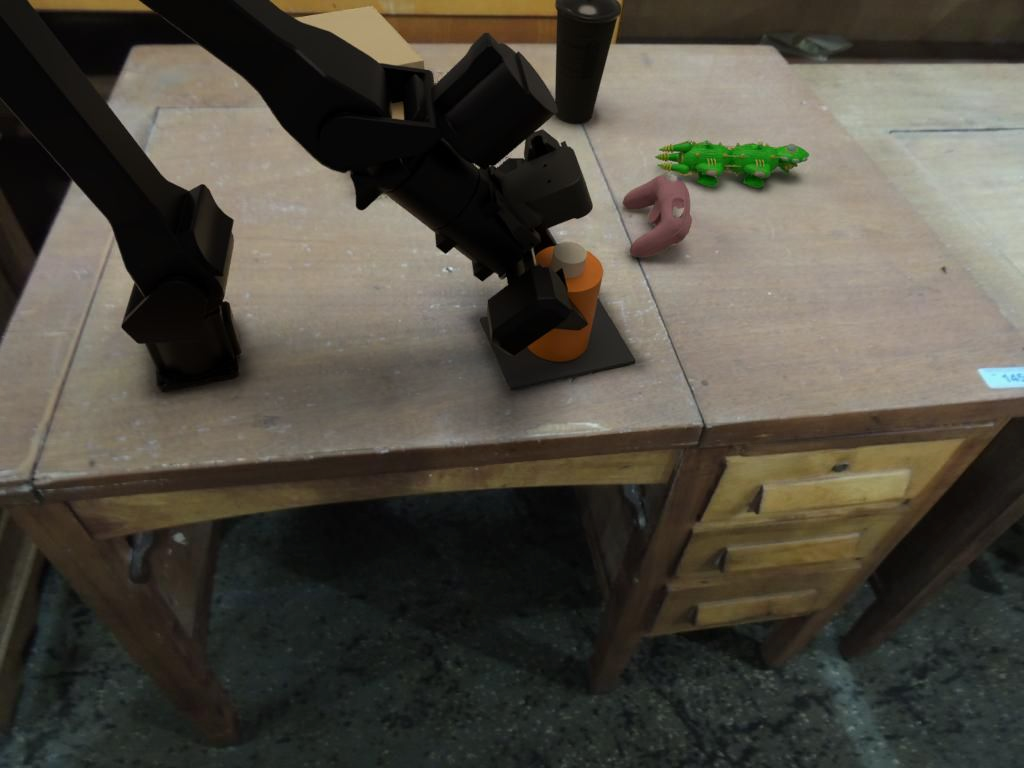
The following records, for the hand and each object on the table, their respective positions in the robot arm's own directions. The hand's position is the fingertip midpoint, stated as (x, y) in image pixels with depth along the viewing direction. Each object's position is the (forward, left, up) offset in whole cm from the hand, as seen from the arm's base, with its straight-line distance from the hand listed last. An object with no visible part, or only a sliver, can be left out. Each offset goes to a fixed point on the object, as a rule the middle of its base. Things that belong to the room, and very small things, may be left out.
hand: (577, 301), depth 65 cm
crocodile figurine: (+29, +21, -5) cm, 36 cm away
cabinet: (-11, +47, -5) cm, 48 cm away
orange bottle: (-1, 0, -5) cm, 5 cm away
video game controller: (+15, +13, -5) cm, 20 cm away
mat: (-1, 0, -5) cm, 5 cm away
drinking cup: (+16, +38, -5) cm, 41 cm away
